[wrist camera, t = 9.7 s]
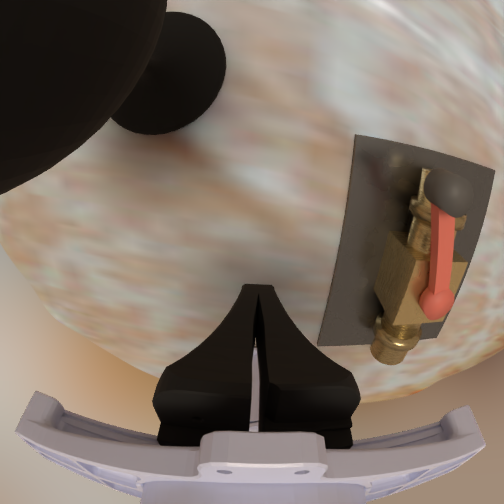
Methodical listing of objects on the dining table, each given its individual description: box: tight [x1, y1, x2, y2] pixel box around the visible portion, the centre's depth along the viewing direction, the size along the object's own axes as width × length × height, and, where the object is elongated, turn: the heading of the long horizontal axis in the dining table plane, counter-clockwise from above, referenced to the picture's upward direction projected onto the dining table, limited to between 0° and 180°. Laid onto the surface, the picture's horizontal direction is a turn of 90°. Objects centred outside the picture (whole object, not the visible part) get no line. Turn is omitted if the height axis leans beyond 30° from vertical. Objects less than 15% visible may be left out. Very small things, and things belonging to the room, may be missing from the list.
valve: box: [317, 134, 495, 365], centre depth 21 cm, size 21×16×6 cm
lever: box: [419, 168, 474, 320], centre depth 15 cm, size 12×3×2 cm, turn 16°
